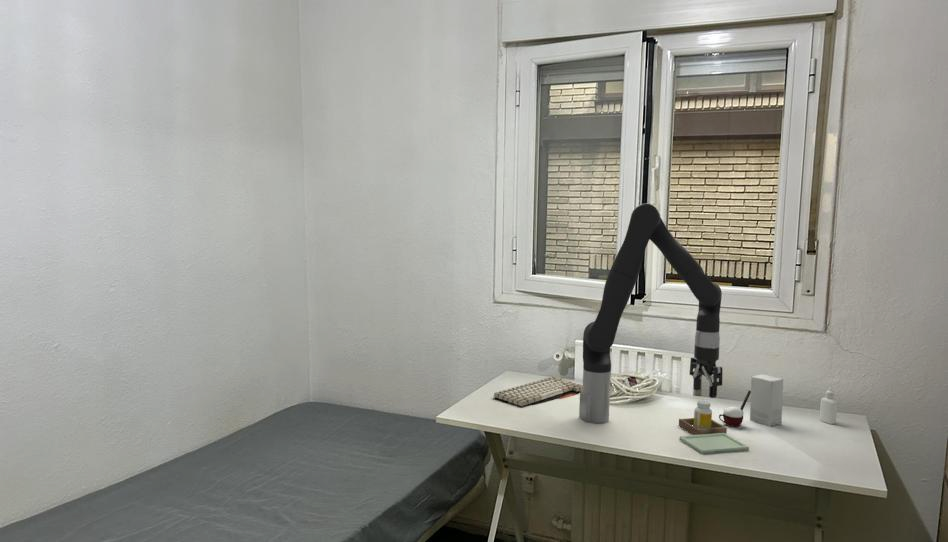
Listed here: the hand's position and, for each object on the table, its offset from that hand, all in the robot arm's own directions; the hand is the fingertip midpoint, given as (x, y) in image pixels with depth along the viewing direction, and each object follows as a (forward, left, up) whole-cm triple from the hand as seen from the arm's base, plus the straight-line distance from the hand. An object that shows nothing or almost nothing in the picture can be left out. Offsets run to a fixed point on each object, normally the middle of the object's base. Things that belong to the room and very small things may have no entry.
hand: (704, 393), depth 208 cm
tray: (-4, -12, -12) cm, 18 cm away
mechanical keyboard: (-39, +48, -13) cm, 63 cm away
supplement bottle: (0, 0, -13) cm, 13 cm away
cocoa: (+14, +3, -13) cm, 19 cm away
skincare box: (+27, +4, -13) cm, 30 cm away
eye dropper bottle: (+49, 0, -13) cm, 50 cm away
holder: (0, 0, -12) cm, 12 cm away
